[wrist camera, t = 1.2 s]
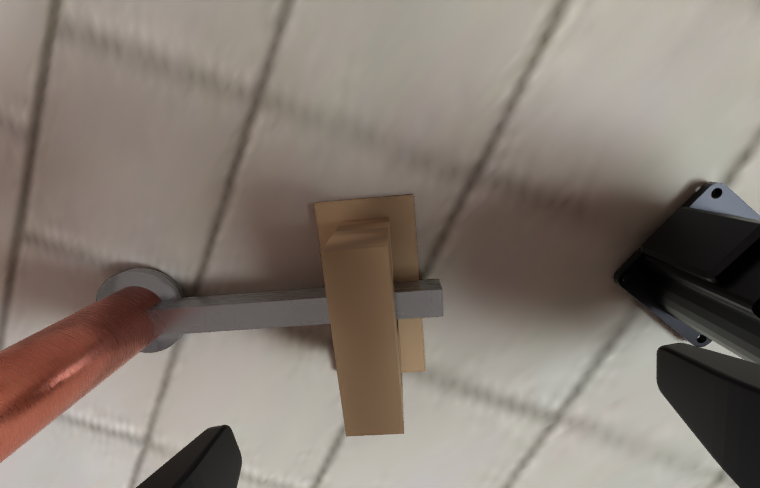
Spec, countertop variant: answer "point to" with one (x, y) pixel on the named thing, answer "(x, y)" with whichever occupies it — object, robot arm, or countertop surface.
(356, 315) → the eye bracket
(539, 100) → the countertop surface
